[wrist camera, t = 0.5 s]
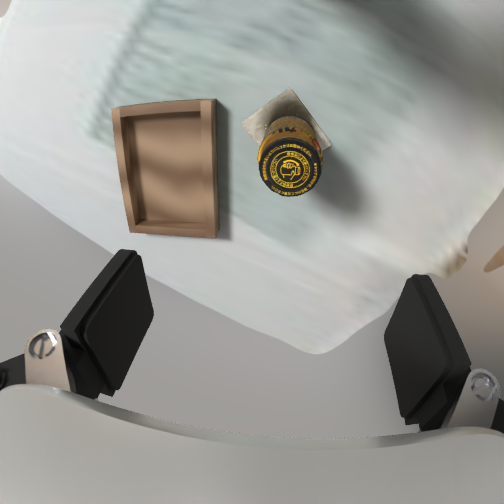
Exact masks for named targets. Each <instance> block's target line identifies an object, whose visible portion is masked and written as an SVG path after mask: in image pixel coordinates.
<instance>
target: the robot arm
mask: <svg viewBox="0 0 504 504" xmlns="http://www.w3.org/2000/svg"><path fill="white" fill-rule="evenodd" d="M153 316H154V311H153V307H152V303H151V298H150V294H149V290H148V286H147V282H146V277H145V272H144V268H143V263H142V258H141V256H140V255H138V254H137V252H136V251H134V250H125V249H120V250H119V251H118V252H117V253H116V254H115V255H114V257H113V258H112V259H111V260H110V261H109V263H108V264H107V265H106V266H105V268H104V269H103V270H102V272H101V273H100V274H99V275H98V277H97V278H96V279H95V280H94V281H93V283H92V284H91V285H90V287H89V288H88V289H87V290H86V292H85V293H84V294H83V295H82V297H81V298H80V300H79V301H78V302H77V304H76V305H75V306H74V307H73V309H72V310H71V312H70V313H69V314H68V316H67V317H66V318H65V320H64V321H63V323H62V324H61V326H60V327H61V331H60V332H59V333H58V332H57V331H55V330H52V329H44V330H41V331H38V332H36V333H35V334H34V335H32V336H31V337H30V339H29V340H28V341H27V343H26V346H25V353H24V354H22V355H19V356H17V357H14V358H12V359H9V360H7V361H4V362H2V363H0V504H504V401H503V400H501V399H500V398H499V396H500V387H499V384H498V381H497V380H496V378H495V377H494V375H493V374H491V373H490V372H489V371H487V370H484V369H479V368H478V369H475V370H473V371H471V369H470V365H471V361H470V359H469V357H468V354H467V352H466V349H465V347H464V345H463V342H462V340H461V338H460V336H459V334H458V331H457V329H456V327H455V325H454V323H453V321H452V319H451V317H450V315H449V313H448V311H447V309H446V307H445V305H444V303H443V301H442V299H441V297H440V295H439V293H438V291H437V289H436V288H435V286H434V284H433V282H432V280H431V278H430V277H429V276H428V275H418V274H414V275H412V277H411V278H408V279H407V281H406V283H405V286H404V288H403V291H402V293H401V296H400V299H399V301H398V303H397V306H396V308H395V310H394V313H393V315H392V317H391V319H390V322H389V324H388V326H387V328H386V330H385V334H384V341H385V345H386V349H387V354H388V357H389V362H390V366H391V371H392V375H393V380H394V385H395V389H396V394H397V399H398V405H399V410H400V415H401V417H403V418H405V424H406V425H411V424H418V423H419V427H420V430H419V432H417V433H409V434H401V435H391V436H379V437H366V438H343V439H342V438H340V439H311V438H309V439H307V438H285V437H270V436H258V435H249V434H240V433H233V432H225V431H219V430H212V429H206V428H201V427H195V426H190V425H185V424H180V423H176V422H171V421H166V420H162V419H158V418H154V417H150V416H146V415H142V414H139V413H135V412H132V411H128V410H125V409H121V408H118V407H115V406H111V405H108V404H105V403H102V402H99V401H98V396H99V394H100V393H102V394H105V395H108V396H111V397H112V396H113V395H114V393H115V390H119V389H120V387H121V385H122V383H123V381H124V379H125V376H126V374H127V372H128V370H129V368H130V366H131V364H132V361H133V359H134V357H135V355H136V353H137V351H138V349H139V346H140V344H141V342H142V340H143V338H144V336H145V334H146V332H147V330H148V328H149V326H150V324H151V322H152V319H153Z"/></svg>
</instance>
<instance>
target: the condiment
mask: <svg viewBox="0 0 504 504" xmlns="http://www.w3.org/2000/svg"><path fill="white" fill-rule="evenodd" d="M241 124H242V125H243V126H244V128H245V129H246V130H247V131H248V132H249V134H250V135H251V136H252V137H253V138H254V140H255V141H256V142H257V144H258V145H259V146H260V148H259V152H258V163H259V170H260V176H261V178H262V180H263V181H264V183H265V184H266V185H267V186H268V187H269V188H270V189H271V190H272V191H273V192H276V193H278V194H280V195H281V196H288V197H291V196H299V195H302V194H304V193H306V192H308V191H309V190H311V189H312V188H313V187H314V186H315V184H316V183H317V182H318V179H319V177H320V175H321V167H322V160H323V158H322V151H323V150H325V149H326V148H328V147H330V146H331V143H330V142H329V140H328V139H327V137H326V136H325V134H324V133H323V132H322V130H321V129H320V127H319V126H318V124H317V123H316V122H315V120H314V119H313V118H312V116H311V115H310V113H309V112H308V111H307V109H306V108H305V107H304V105H303V104H302V103H301V101H300V100H299V99H298V97H297V96H296V95H295V94H294V92H293V91H292V90H291V89H288V90H287V91H285V92H284V93H282V94H281V95H279V96H278V97H276V98H275V99H273V100H272V101H270V102H269V103H268V104H266V105H265V106H263V107H262V108H260V109H259V110H258V111H256V112H255V113H254V114H252V115H251V116H250V117H248V118H247V119H245V120H244V121H243V122H241ZM265 124H266V126H265ZM265 128H266V130H265Z"/></svg>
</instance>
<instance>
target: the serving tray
mask: <svg viewBox="0 0 504 504" xmlns="http://www.w3.org/2000/svg"><path fill="white" fill-rule="evenodd" d="M111 110H112V121H113V131H114V140H115V148H116V156H117V163H118V170H119V176H120V182H121V189H122V194H123V200H124V205H125V211H126V216H127V221H128V226H129V230H130V232H131V233H146V234H161V235H175V236H189V237H203V238H216V236H217V233H218V231H219V210H218V181H217V141H216V99H195V100H177V101H164V102H154V103H144V104H136V105H128V106H121V107H118V108H114V109H111Z"/></svg>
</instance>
